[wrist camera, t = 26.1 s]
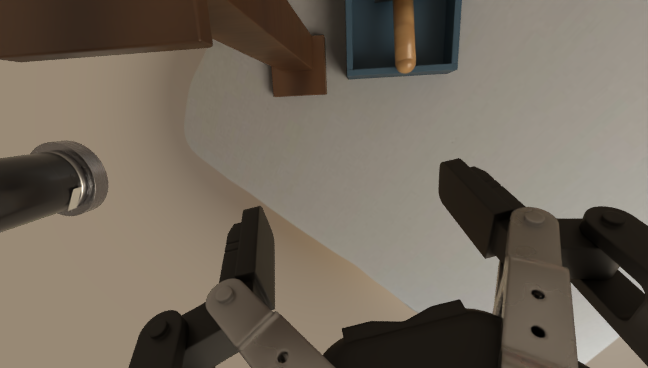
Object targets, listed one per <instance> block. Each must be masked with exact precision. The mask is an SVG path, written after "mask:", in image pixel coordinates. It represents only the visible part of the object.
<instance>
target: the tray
mask: <svg viewBox="0 0 648 368" xmlns="http://www.w3.org/2000/svg"><path fill="white" fill-rule="evenodd" d="M413 5H414V28H415V52H416V65H415V67H414V69H413V70H412V71H411V72H409V73H406V74H403V73H400V72H399V71H398V70H397V69H396V66H395V46H394V23H393V1H387V2H379V3H375V2H374V0H345V12H346V55H347V77H348V79H362V78H379V77H396V76H414V75H431V74H448V73H450V72H452V71H455V70H457V68H458V52H459V36H460V20H461V5H462V0H413Z"/></svg>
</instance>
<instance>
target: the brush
mask: <svg viewBox="0 0 648 368" xmlns="http://www.w3.org/2000/svg"><path fill="white" fill-rule="evenodd" d="M387 1H393V23H394V46H395V66H396V69H397V70H398V71H399V72H400V73H403V74H406V73H409V72H411V71H412V70H413V69H414V67H415V65H416V52H415V28H414V5H413V0H374V2H375V3H379V2H387Z"/></svg>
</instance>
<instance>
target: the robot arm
mask: <svg viewBox="0 0 648 368" xmlns="http://www.w3.org/2000/svg"><path fill="white" fill-rule="evenodd" d="M87 192H88V184H87V179H86V176H85V173H84V171H83V170H82V168H81V167H80V165H79V164H78V163H77V162H76V161H75V160H74V159H73V158H72V157H70V156H69V155H67V154H65V153H63V152H59V151H46V152H40V153H37V154H30V155H21V156H14V157H7V158H0V232H3V231H6V230H9V229H12V228H15V227H18V226H21V225H24V224H27V223H29V222H32V221H35V220H38V219H41V218H44V217H47V216H50V215H53V214H56V213H59V212H62V211H66V210H68V211H69V210H72V209H75V208H77V207H78V206H79V205H81V204H82V203H83V201H84V200H85V198H86V196H87ZM439 196H440V199H441V202H442V203H443V205H444V206H445V207H446V209H447V210H448V211H449V213H450V214H451V215H452V216H453V218H454V219H455V220H456V222H457V223H458V224H459V225H460V227H461V228H462V229H463V231H464V232H465V233H466V235H467V236H468V237H469V238H470V240H471V241H472V242H473V244H474V245H475V246H476V248H477V249H478V250H479V251H480V253H481V254H482V255H483V257H484V258H485V259H486V258H490V257H494V256H497V258H498V259H499V260H500V262H499V266H498V275H497V284H496V293H495V302H494V308H493V314H491V313H488V312H485V311H481V310H476V309H467V308H465V307H464V305H463V304H462V302H461V300H460V299H459V300H455V301H451V302H447V303H443V304H439V305H435V306H431V307H429V308H427V309H426V310H424V311H422V312H420V313H418V314H417V315H415V316H413V317H411V318H410V319H408V320H406V321H402V322H388V321H385V322H384V321H370V322H366V323H362V324H358V325H354V326H350V327H346V328H342V332H343V337H344V338H342V339H340V340H338V341H337V342H336V343H334V344H333V345H332V346H331V347H330V348H329V349H328V350H327V351H326V352H325V353H324V354H323V355H321V353H320V352H319V351H317V350H316V349H315V348H314V347H313V346H312V345H311V344H310V343H309V342H308V341H307V340H306V339H305V338H304V337H303V336H302V335H301V334H300V333H299V332H298V331H297V330H296V329H295V328H294V327H293V326H292V325H291V324H290V323H289V322H288V321H287V320H286V319H285V318H283V316H282V315H280V314H279V313H278V312H276V311H275V312H272V311H271V310H274V309H275V269H274V268H275V256H274V254H275V252H274V251H275V250H274V237H273V233H272V230H271V228H270V225H269V223H268V220H267V218H266V216H265V213H264V211H263V208H262V207H261V206H258V207H254V208H250V209H245V210H244V211H243V216H242V222H241V223H237V224H234V225H233V227H232V228H231V230H230V231H229V233H228V236H227V243H226V244H227V245H226V248H225V254H224V259H223V264H222V270H221V275H220V281H219V284H217V285H216V286H215V287H214V288H213V289H212V290H211V291H210V293H209V294H208V296H207V299H206V302H205V303H203V304H202V305H200V306H198V307H196V308H195V309H193V310H191V311H189V312H187V313H185V314H184V315H182V316H181V315H180V314H179V313H178V312H177V311H174V310H168V311H164V312H162V313H160V314H158V315H156V316H155V317H153V318H152V319H151V320H150V321H149V322H148V323H147V324H146V325H145V326H144V328H143V329H142V331H141V332H140V335H139V337H138V340H137V344H136V346H135V350H134V353H133V356H132V359H131V362H130V365H129V368H215V366H216V365H218V364H220V363H221V362H223V361H224V360H226V359H228V358H229V357H231V356H233V355H234V354H236V353H238V352H239V353H240V354H241V355H242V356H243V358H244V359H245V360H246V362H247V363H248V364H249V366H250V367H251V368H589V367H588V366H586V365H584V364H583V363H581V362H579V361H578V358H577V348H576V337H575V326H574V315H573V305H572V294H571V283H572V284H573V285H574V286H575V287H576V288H577V289H578V290H579V292H580V293H581V294H582V295H583V296H584V297H585V298H586V299H587V300H588V301H589V303H590V304H591V305H592V306H593V307H594V308H595V309H596V310H597V311H598V312H599V314H600V315H601V316H602V317H603V318H604V319H605V320H606V321H607V322H608V323H609V325H610V326H611V327H612V328H613V329H614V330H615V331H616V332H617V333H618V334H619V336H620V337H621V338H622V339H623V340H624V341H625V342H626V343H627V344H628V345H629V346H630V348H631V349H632V350H633V351H634V352H635V353H636V354H637V355H638V356H639V357H640V358H641V360H642V361H643V362H644V363H645V364H646V365H647V366H648V226H647V225H646V224H644V223H643V222H641V221H640V220H638V219H637V218H636V217H634V216H633V215H631V214H629V213H627V212H625V211H622V210H620V209H616V208H612V207H603V206H601V207H593V208H590V209H588V210H587V211H586V212H585V214H584V216H583V219H556V218H555V217H554V216H553V215H552V214H550V213H549V212H547V211H544V210H542V209H538V208H533V207H525V206H524V205H523V204H522V203H521V202H520V201H518V200H517V199H516V198H515V197H514V196H513V195H512V194H511V193H509V192H508V191H507V190H506V189H505V188H504V187H503V186H501V185H500V184H499V183H498V182H497V181H496V180H494V178H492V177H491V176H490V175H489V174H488V173H487V172H486V171H483V170H481V169H479V168H476V167H469V166H468V165H467V164H466V163H465V162H463V161H462V160H461V159H459V158H458V159H454V160H449V161H445V162H442V163H441V164H440V170H439ZM619 266H620V267H621V268H622V269H623V270H625V271H626V272H627V273H628V274H629V275H630V276H631V277H632V278H634V279H635V280H636V281H637V282H638V283H639V284H640V285H641V286H642V288H643V290H644V292H645V294H644V293H643V292H642V291H641V290H640V289H639V288H638V287H636V286H635V285H634V284H633V283H632V282H631V281H630V280H629V279H628V278H626V277H625V276H624V275H623V274H622V273H621V272H620V271H619V270H618V268H619ZM570 282H571V283H570Z"/></svg>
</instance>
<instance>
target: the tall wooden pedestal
mask: <svg viewBox="0 0 648 368" xmlns="http://www.w3.org/2000/svg"><path fill="white" fill-rule="evenodd" d="M212 39H214V40H216V41H219V42H221V43H223V44H225V45H227V46H229V47H231V48H234V49H236V50H238V51H240V52H242V53H244V54H246V55H248V56H251V57H253V58H255V59H257V60H259V61H261V62H263V63H266V64H268V65H270V66H271V70H272V82H273V94H274V97H285V96H305V95H324V94H327V81H326V56H325V37H324V35H316V36H311V34H310V33H309V32H308V30H307V29H306V27H305V26H304V24H303V23H302V21H301V20H300V18H299V17H298V16H297V14H296V13H295V11H294V10H293V8H292V7H291V5H290V4H289V2H288V1H287V0H0V59H1V60H8V61H15V62H29V61H42V60H55V59H68V58H81V57H95V56H107V55H121V54H134V53H147V52H160V51H173V50H186V49H199V48H210V47H212V46H213V43H212Z"/></svg>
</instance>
